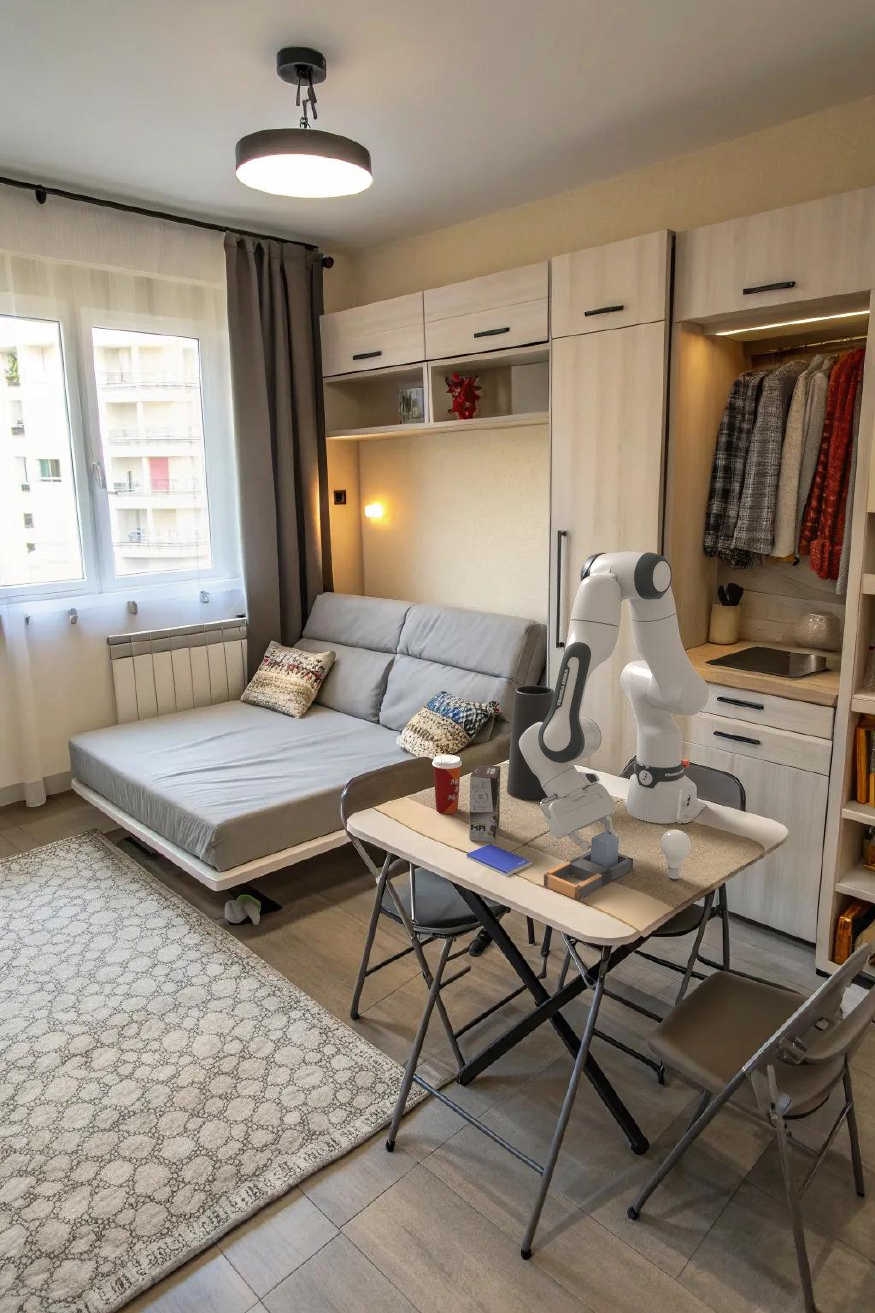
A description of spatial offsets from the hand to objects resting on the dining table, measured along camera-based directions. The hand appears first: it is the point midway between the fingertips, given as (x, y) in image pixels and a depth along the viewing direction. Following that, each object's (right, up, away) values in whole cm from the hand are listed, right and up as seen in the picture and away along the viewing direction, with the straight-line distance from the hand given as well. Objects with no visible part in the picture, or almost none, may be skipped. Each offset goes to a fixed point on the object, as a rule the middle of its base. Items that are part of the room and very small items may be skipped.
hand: (600, 843), depth 183 cm
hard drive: (-22, -6, +5) cm, 23 cm away
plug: (+1, -6, +1) cm, 6 cm away
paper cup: (-33, +1, +34) cm, 47 cm away
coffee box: (-24, -2, +19) cm, 31 cm away
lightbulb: (+15, -7, -4) cm, 17 cm away
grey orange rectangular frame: (-3, -7, -3) cm, 8 cm away
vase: (-10, +4, +46) cm, 47 cm away
